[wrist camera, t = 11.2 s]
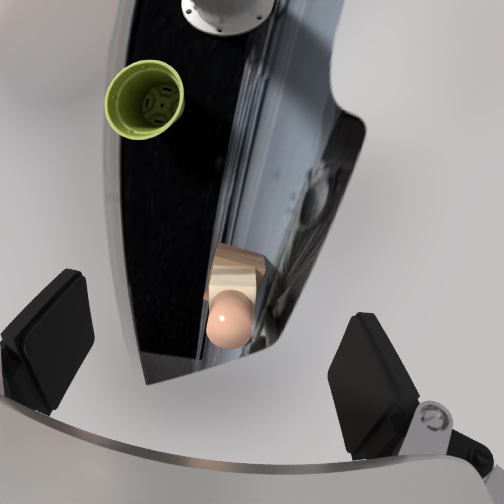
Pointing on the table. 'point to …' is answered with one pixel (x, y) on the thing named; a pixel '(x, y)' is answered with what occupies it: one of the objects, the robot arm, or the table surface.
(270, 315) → the table surface
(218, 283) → the beech block
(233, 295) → the peach rounded solid
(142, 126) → the plant pot
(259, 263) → the walnut block
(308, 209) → the table surface
